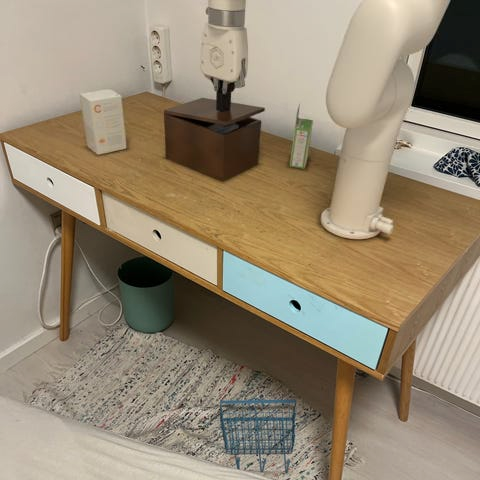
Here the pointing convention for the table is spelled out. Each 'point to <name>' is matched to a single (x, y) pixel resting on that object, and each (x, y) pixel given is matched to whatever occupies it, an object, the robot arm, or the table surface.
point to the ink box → (301, 142)
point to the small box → (103, 121)
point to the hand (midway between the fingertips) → (223, 109)
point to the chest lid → (213, 111)
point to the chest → (212, 146)
